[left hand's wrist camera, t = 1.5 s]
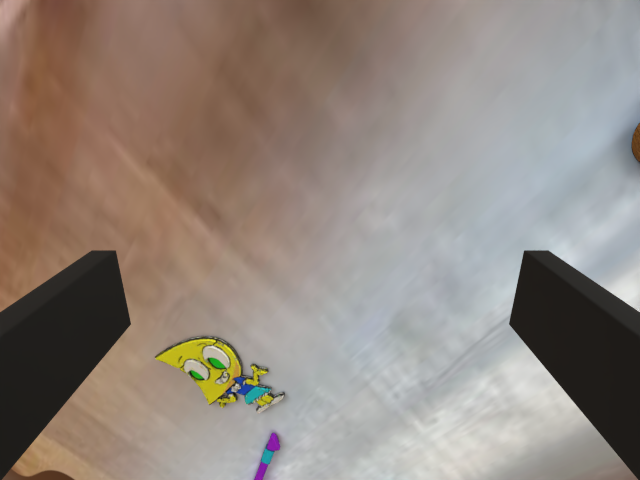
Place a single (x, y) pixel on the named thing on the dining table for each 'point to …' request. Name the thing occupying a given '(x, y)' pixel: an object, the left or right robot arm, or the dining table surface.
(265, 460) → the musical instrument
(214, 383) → the toy
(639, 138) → the disposable coffee cup
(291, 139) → the dining table surface
